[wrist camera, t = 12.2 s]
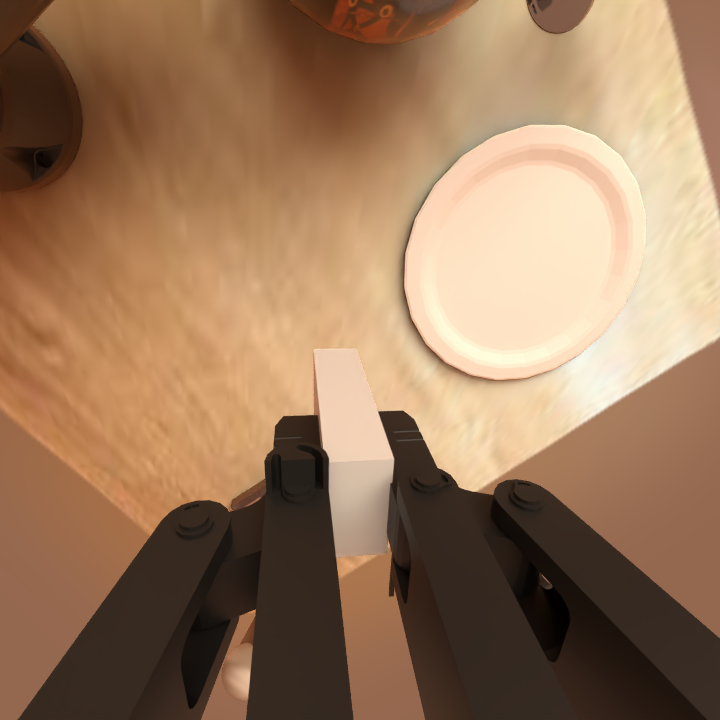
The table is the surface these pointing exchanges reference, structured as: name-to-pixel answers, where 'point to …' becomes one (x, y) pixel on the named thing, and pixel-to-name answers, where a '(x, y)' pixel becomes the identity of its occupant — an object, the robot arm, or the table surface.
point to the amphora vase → (383, 17)
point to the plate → (524, 252)
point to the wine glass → (559, 13)
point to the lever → (239, 667)
